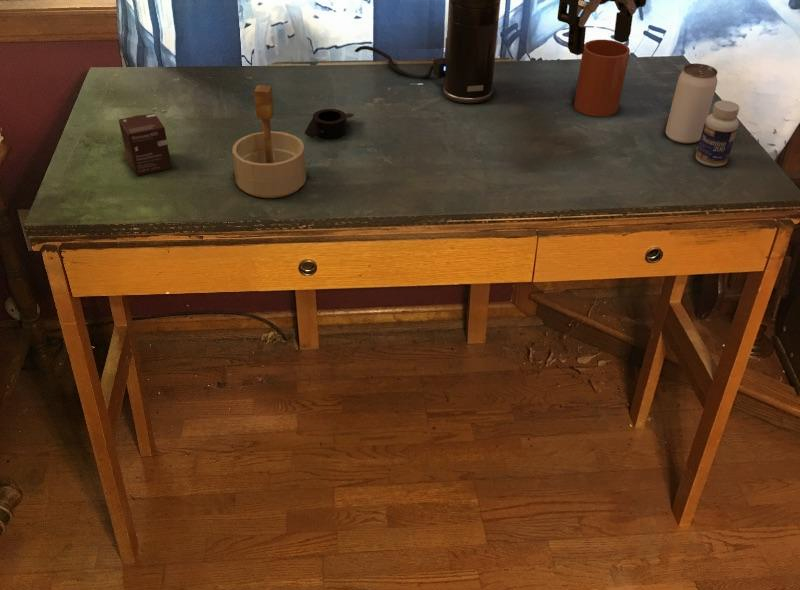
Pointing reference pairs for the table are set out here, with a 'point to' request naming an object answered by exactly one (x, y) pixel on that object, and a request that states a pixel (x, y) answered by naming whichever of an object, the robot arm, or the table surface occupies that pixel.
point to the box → (145, 143)
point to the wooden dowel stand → (265, 116)
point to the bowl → (269, 165)
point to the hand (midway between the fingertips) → (598, 47)
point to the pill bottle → (718, 134)
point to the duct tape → (328, 124)
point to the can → (691, 103)
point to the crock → (601, 77)
